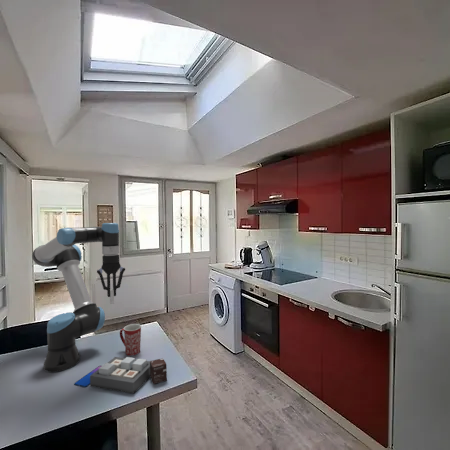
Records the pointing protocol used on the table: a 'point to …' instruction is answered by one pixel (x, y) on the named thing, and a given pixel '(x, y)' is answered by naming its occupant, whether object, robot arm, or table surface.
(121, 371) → the key
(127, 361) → the key
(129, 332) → the mug
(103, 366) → the key
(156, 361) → the box
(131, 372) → the key
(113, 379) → the keypad
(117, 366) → the key
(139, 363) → the key
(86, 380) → the smartphone
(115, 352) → the table surface
